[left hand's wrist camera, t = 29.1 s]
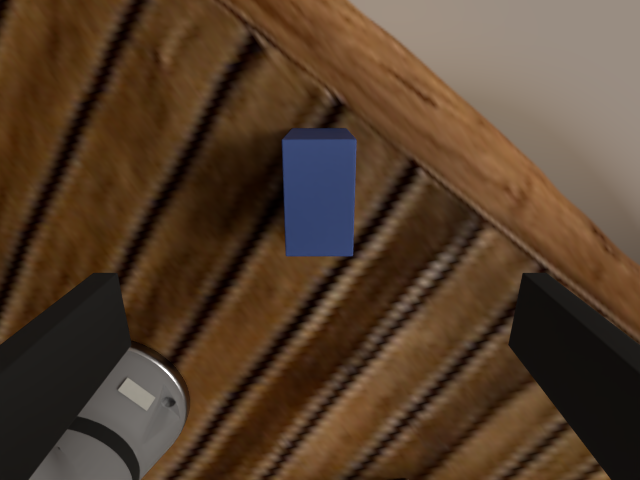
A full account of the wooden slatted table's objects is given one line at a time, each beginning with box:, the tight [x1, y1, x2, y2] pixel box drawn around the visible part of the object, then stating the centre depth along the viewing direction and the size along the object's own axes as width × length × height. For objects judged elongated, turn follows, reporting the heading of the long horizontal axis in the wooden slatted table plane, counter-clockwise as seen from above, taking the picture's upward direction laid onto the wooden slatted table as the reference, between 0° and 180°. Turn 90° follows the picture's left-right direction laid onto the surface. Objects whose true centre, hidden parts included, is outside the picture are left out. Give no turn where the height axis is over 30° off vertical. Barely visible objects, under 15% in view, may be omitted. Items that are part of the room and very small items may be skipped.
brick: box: [282, 128, 356, 256], centre depth 30 cm, size 5×8×9 cm, turn 0°
